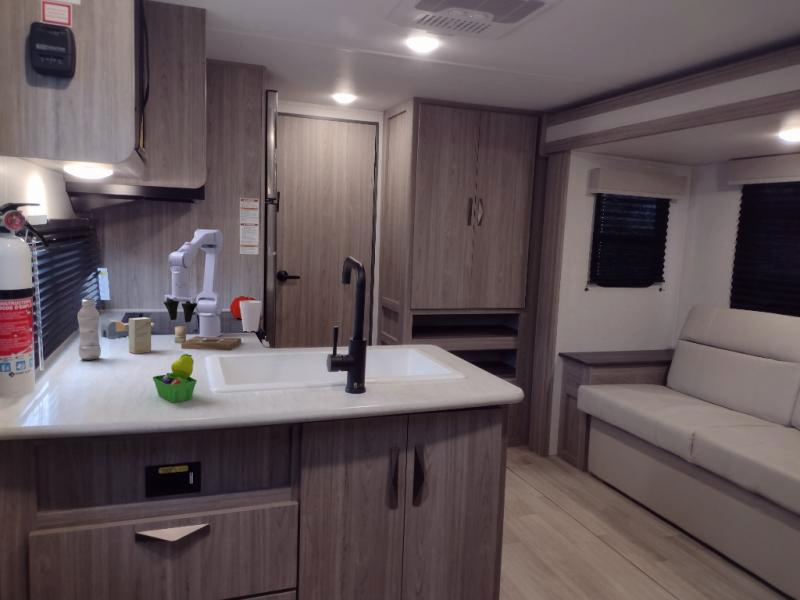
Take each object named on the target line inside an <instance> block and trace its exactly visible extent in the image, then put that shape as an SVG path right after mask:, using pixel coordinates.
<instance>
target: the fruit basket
mask: <svg viewBox="0 0 800 600" xmlns="http://www.w3.org/2000/svg"><path fill="white" fill-rule="evenodd" d="M192 357H193V355H191V354H189V353H183V354H181V356H180V357H179V358H178V359H177V360H176V361H174V362H173V363H171V365H170V368H171V372H167V373H166V374H162V375H156V376H152V379H153V382H154V384H155V388H156V392H157V394H158V396H159V397H161V398H163V399H164V400H166V401H169V402H170V403H179V402H183V401H184V402H185V401H188V400H192V397H193V394H194V391H195V387H196V384H197V380H196V379H195V378H193V377H191V376H192V374H193V371H194V359H193V358H192Z"/></svg>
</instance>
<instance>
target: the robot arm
mask: <svg viewBox="0 0 800 600" xmlns="http://www.w3.org/2000/svg"><path fill="white" fill-rule="evenodd" d="M193 236H194V237H193V238H192V239H191V241H185V242H184V244H183V245H182V246H181V247H180V248H179V249H178V250H177V251H172V252H171V253H170V254H169V255H168V259H167V263H168V265H169V270H170V272H171V294H164V301H163V304H164V306H165V307H166V309H167V313H168V315H169V319H170V320H171V321H176V320H177V319H178V317H177V316H178V308H179V304H180V302H181V307H182V310H183V315H184V323H190V322H191V321H192V318H193V315H194V312H196V314H197V316H199V334H198V335H197V336H201V337H219V336H220V337H221V336H222V335H223V334H224V333H223V332H221V317H220V315H221V313H222V312H223V307H224V306H223V297H222V296H221V295H220V294H219V293H218V292H217V282H218V281H217V280H218V270H219V269H218V267H219V256H220V255H219V254H220V252H221V251H223V246H224V245H223V244H224V235H223V233H222V231H221V230H220V229H201V228H197V229H196V230H195V231H194V235H193ZM199 249H200V250H201V251H204V252H205V260H204V262H205V265H204V275H203V277H204V278H203V287H202V288H203V289H202V291H201V292H199V294H197V295H196V297H194V296H189V295H190V294H189V292H190V291H189V287H190V285H189V268H190V267H191V266H192V262H193V259H194V258H195V257H196V255H198V253H199ZM191 323H192V322H191Z"/></svg>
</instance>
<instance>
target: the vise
mask: <svg viewBox="0 0 800 600" xmlns="http://www.w3.org/2000/svg"><path fill="white" fill-rule="evenodd" d="M154 326H155V323H154V322H151V328H152V327H154ZM100 333H101V334H100V337H101V338H106V339H107V338H108V339H107V340H116V339H115V338H118V339H119V337H121V338H125V337H124V336H129V322H126V323H125V322H124V323H123V322H122V321H119V320H115V319H106V320H103V321H102V322H101V324H100Z"/></svg>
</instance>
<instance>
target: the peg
mask: <svg viewBox="0 0 800 600" xmlns="http://www.w3.org/2000/svg"><path fill="white" fill-rule="evenodd" d="M185 341H187V327H186V326H184V325H183V326H181V325H180V326H178V325H177V326H175V327H174V343H175V344H181V343H182V342H185Z"/></svg>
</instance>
